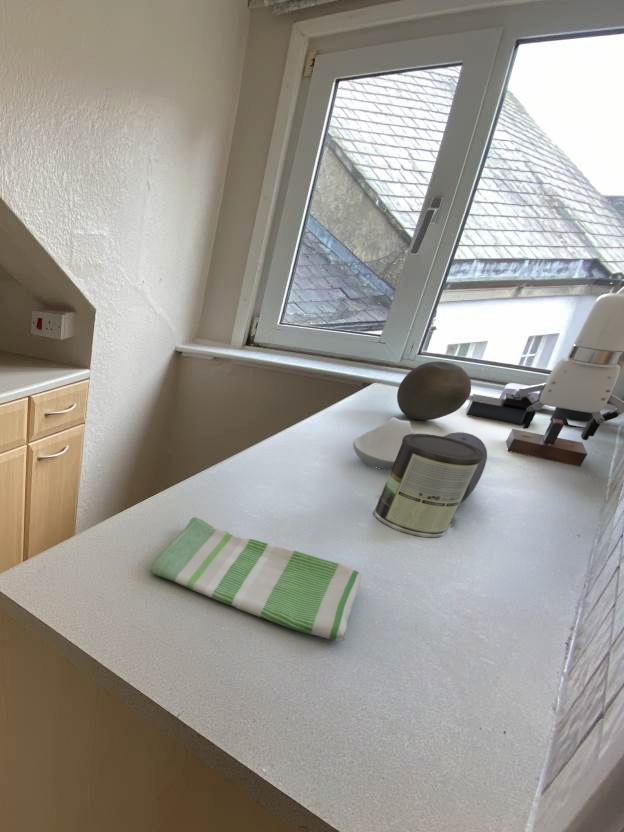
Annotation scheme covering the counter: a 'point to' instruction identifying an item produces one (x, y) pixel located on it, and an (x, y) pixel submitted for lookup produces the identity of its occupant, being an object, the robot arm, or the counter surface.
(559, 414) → the travel mug
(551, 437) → the browning knob
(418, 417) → the dark brown rounded piece
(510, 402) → the toaster
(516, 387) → the charger
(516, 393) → the toaster lever
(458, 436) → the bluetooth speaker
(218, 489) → the counter surface
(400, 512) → the coffee can
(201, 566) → the dish towel
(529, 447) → the brown wooden block
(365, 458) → the spoon rest
